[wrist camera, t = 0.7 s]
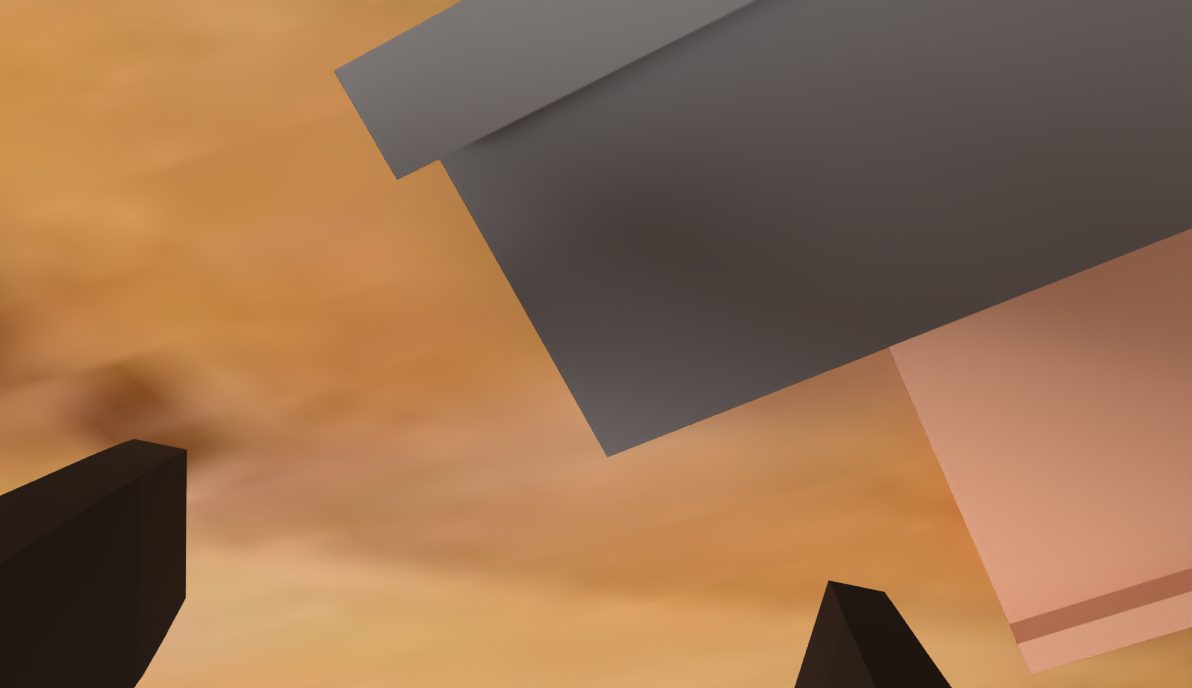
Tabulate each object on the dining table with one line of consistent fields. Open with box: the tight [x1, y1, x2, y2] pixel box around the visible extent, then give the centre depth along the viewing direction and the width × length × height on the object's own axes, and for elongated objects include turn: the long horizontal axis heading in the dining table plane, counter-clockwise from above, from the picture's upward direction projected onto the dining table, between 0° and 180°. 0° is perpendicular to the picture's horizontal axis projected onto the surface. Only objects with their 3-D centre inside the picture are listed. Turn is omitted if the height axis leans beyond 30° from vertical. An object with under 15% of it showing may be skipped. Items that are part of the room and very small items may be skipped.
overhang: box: [334, 0, 1192, 457], centre depth 15 cm, size 7×16×6 cm, turn 117°
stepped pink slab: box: [888, 229, 1192, 674], centre depth 19 cm, size 9×7×2 cm
